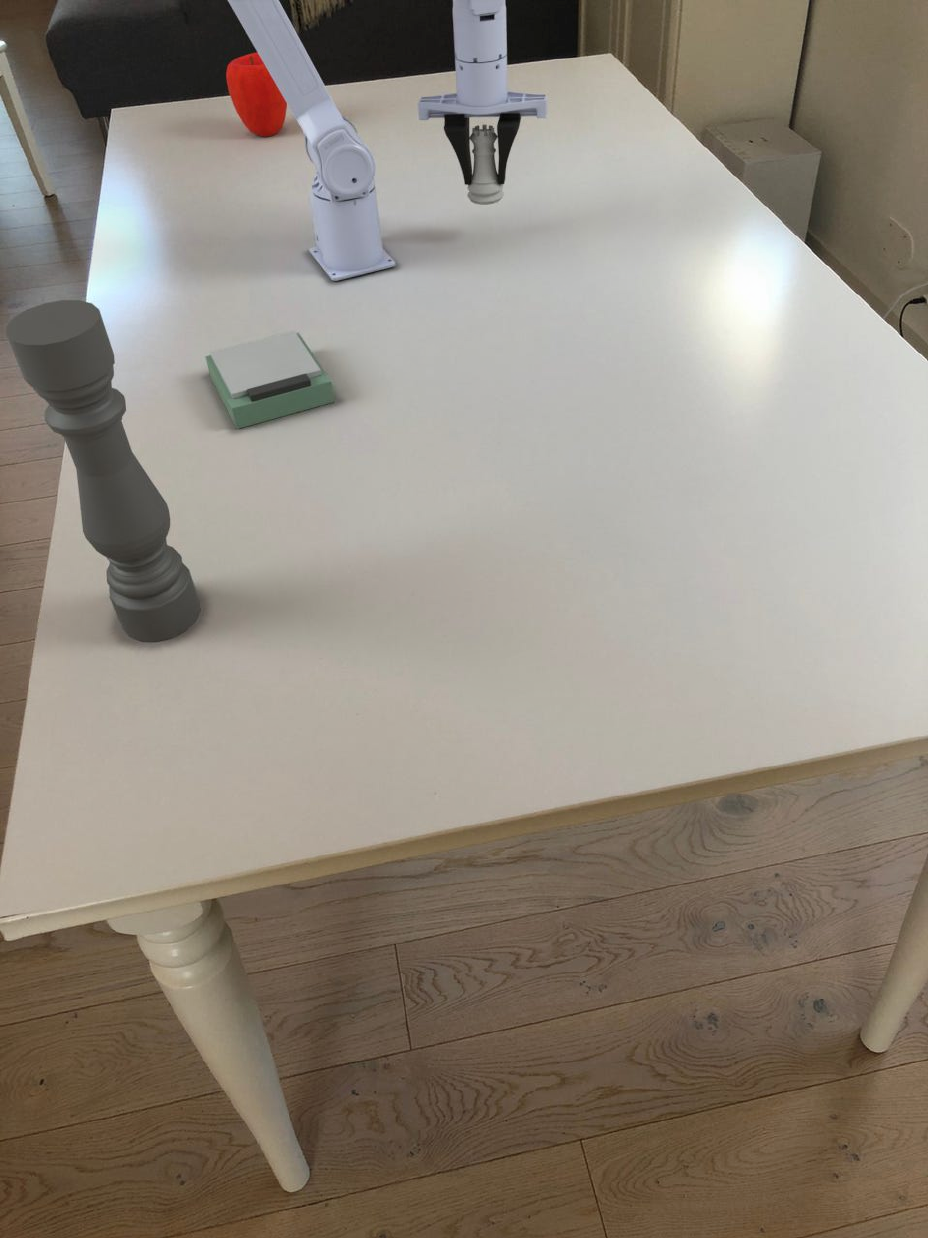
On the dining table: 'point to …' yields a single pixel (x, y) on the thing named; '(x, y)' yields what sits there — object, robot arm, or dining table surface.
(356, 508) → the dining table surface
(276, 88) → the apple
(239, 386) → the scale
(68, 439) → the candle holder
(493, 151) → the rook chess piece
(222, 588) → the dining table surface
